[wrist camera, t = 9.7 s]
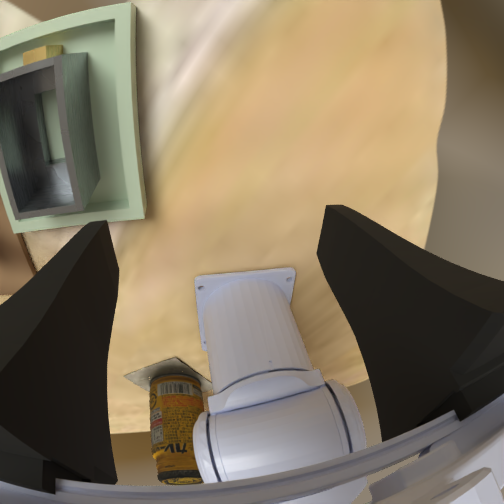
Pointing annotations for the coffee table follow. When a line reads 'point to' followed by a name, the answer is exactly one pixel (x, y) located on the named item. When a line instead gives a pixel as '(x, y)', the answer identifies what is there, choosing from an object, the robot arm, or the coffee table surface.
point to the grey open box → (35, 135)
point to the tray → (103, 110)
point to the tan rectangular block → (12, 257)
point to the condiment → (173, 417)
